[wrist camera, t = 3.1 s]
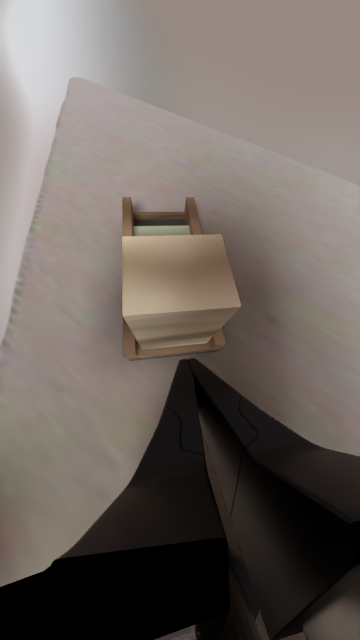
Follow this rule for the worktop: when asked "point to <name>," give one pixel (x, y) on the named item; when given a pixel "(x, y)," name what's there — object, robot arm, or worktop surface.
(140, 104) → the worktop surface
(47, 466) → the worktop surface
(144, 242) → the block
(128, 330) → the track
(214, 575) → the robot arm
